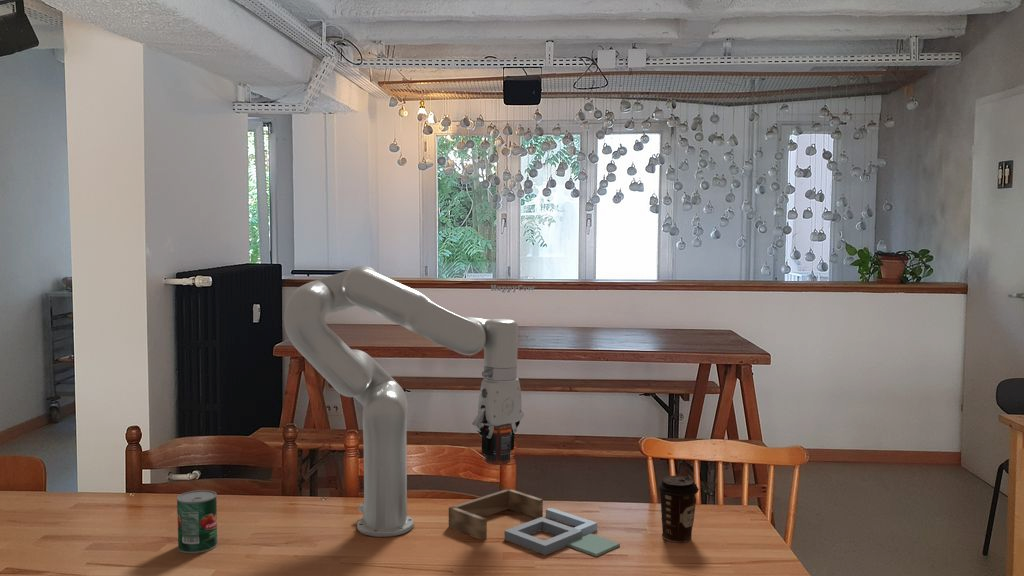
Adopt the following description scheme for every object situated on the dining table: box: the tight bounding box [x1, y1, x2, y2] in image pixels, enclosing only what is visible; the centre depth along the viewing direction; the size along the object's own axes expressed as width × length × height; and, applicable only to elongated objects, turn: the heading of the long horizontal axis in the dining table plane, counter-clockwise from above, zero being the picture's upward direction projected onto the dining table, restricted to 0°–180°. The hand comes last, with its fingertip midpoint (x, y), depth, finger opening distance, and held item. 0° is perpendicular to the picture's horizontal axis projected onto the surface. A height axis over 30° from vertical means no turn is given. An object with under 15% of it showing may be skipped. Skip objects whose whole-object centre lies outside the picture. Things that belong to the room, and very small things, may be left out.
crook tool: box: [545, 507, 598, 537], centre depth 189 cm, size 14×7×2 cm, turn 46°
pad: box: [566, 533, 621, 558], centre depth 178 cm, size 8×8×1 cm
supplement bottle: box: [484, 424, 512, 466], centre depth 189 cm, size 6×6×11 cm
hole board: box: [503, 516, 582, 556], centre depth 181 cm, size 12×12×2 cm
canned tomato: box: [176, 489, 218, 554], centre depth 175 cm, size 8×8×11 cm
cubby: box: [448, 488, 544, 541], centre depth 191 cm, size 11×19×4 cm, turn 136°
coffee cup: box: [658, 475, 700, 543], centre depth 182 cm, size 9×8×13 cm
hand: (497, 451), depth 189 cm, fingers closed on supplement bottle, 6 cm apart
